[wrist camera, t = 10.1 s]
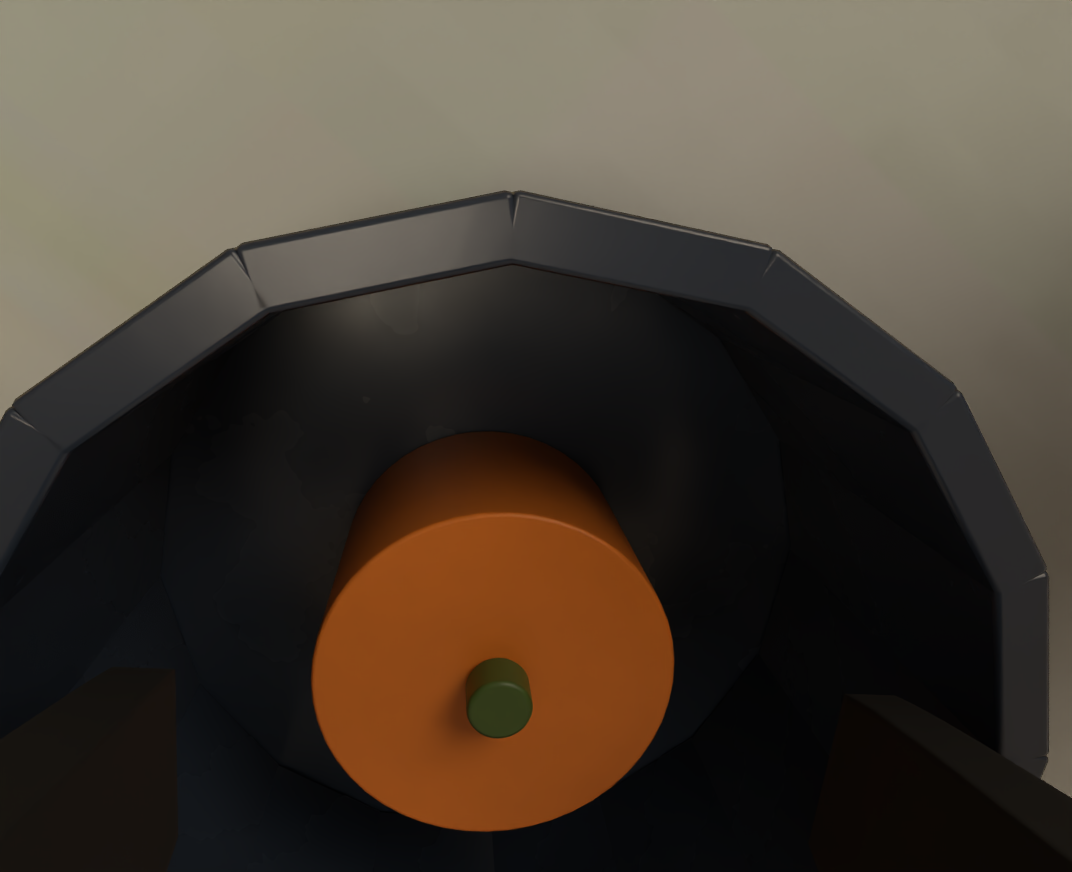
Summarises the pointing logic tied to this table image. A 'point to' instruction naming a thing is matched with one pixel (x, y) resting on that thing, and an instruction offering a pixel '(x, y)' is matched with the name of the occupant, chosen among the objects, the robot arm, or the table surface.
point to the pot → (582, 435)
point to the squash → (489, 639)
